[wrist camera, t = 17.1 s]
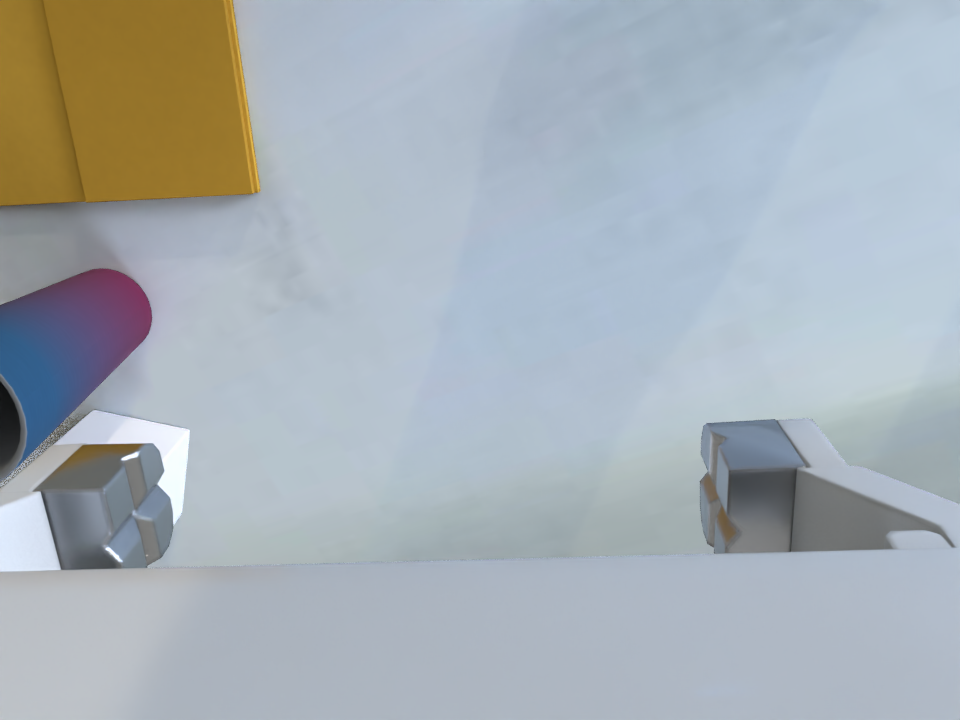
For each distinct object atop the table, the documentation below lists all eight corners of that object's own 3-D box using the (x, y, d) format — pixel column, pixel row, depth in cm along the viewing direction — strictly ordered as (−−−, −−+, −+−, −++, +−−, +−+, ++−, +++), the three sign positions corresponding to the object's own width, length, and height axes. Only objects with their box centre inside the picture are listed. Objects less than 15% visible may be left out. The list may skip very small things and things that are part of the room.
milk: (191, 428, 52) (-23, 683, 32) (183, 514, 54) (-23, 806, 34) (90, 407, 52) (-191, 651, 32) (86, 494, 54) (-180, 776, 34)
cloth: (-172, -69, 44) (-184, -71, 43) (218, -99, 42) (212, -101, 41) (-92, 209, 48) (-102, 212, 48) (260, 191, 47) (256, 193, 46)
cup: (77, 376, 51) (-92, 504, 37) (31, 267, 49) (-167, 359, 35) (184, 353, 51) (52, 475, 37) (142, 241, 48) (-16, 324, 34)
